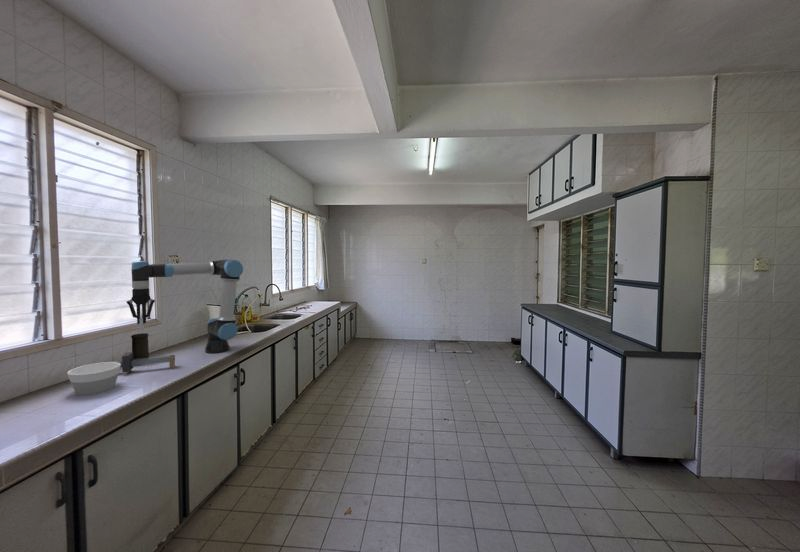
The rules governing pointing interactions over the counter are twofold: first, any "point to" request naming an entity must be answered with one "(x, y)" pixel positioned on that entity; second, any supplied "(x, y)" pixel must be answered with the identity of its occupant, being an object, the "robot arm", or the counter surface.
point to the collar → (127, 362)
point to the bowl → (94, 377)
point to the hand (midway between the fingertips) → (142, 329)
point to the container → (140, 346)
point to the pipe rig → (151, 361)
